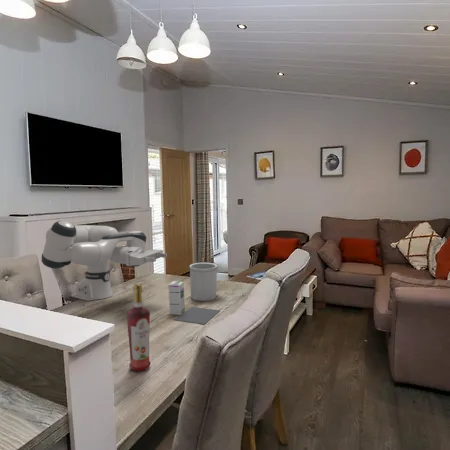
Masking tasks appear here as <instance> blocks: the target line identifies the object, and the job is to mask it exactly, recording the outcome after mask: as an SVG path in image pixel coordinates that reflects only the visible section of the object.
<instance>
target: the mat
mask: <svg viewBox="0 0 450 450" xmlns="http://www.w3.org/2000/svg"><path fill="white" fill-rule="evenodd" d="M219 312H221V310H219V309H213V308H206V307H205V308H204V307H197V306H191V307H190V308H188V309H187V310H185V311H184V312H183V313H182V314H181V315H178V316H177V317H176V318H174V319H173V320H174V321H178V322H185V323H191V324H198V325H204V326H205V325H206V324H207V323H208V322H209V321H210V320H212V319H213V318H214V317H215V316H216V315H217V314H218V313H219Z"/></svg>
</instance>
